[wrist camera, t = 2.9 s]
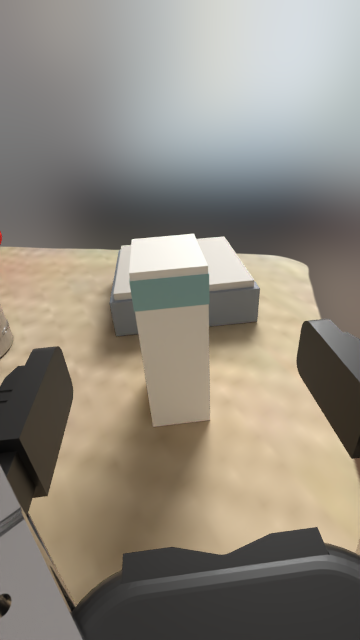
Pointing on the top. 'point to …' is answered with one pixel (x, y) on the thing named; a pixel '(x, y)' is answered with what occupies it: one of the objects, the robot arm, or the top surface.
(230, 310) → the podium
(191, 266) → the carton
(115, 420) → the top surface
